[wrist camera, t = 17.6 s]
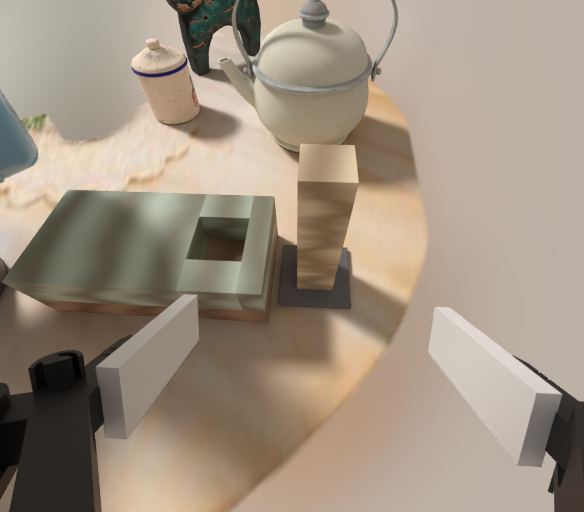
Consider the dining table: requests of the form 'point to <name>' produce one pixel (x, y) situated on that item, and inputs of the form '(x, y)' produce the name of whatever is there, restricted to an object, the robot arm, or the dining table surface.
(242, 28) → the ceramic cat
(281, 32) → the kettle
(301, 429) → the dining table surface
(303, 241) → the wooden block
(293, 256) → the rubber mat
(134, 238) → the green block with hole
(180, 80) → the teacup with lid
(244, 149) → the dining table surface
